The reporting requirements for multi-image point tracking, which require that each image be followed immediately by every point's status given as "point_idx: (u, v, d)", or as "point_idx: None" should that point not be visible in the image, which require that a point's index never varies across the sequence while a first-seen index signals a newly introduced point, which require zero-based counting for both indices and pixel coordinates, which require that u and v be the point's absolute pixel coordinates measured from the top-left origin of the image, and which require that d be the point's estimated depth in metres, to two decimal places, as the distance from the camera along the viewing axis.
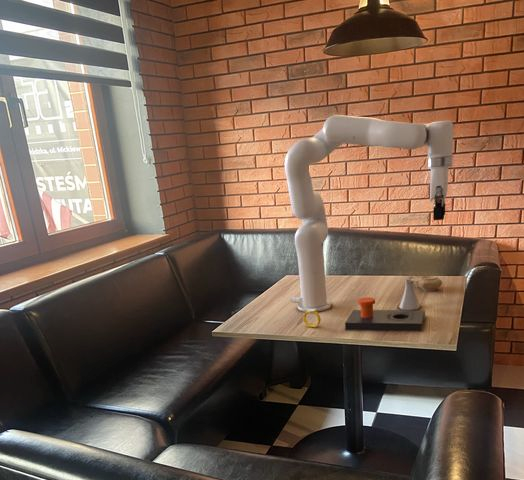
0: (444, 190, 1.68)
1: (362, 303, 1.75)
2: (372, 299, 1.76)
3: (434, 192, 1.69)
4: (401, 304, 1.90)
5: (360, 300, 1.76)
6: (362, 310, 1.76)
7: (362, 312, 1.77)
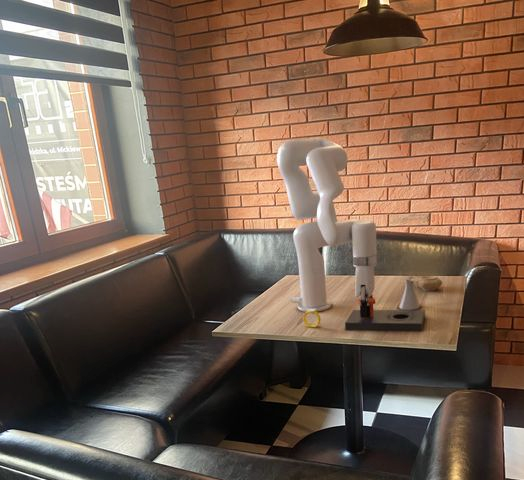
0: (368, 289, 1.70)
1: None
2: (372, 299, 1.76)
3: (359, 290, 1.71)
4: (401, 304, 1.90)
5: None
6: None
7: None
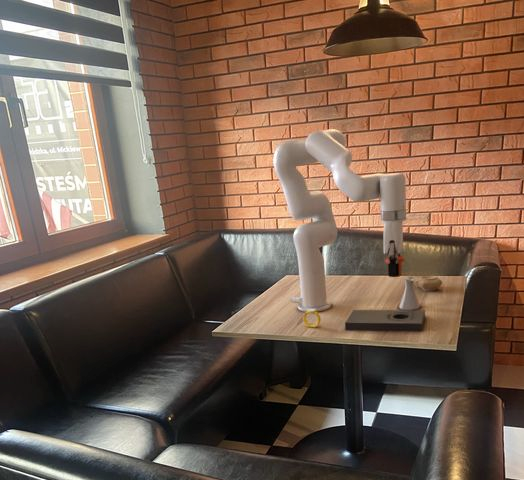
0: (397, 245, 1.62)
1: None
2: (401, 257, 1.68)
3: (387, 246, 1.63)
4: (401, 304, 1.90)
5: None
6: None
7: None
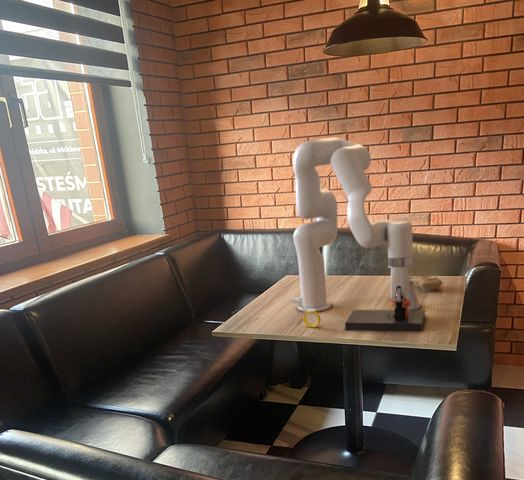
0: (404, 290, 1.66)
1: None
2: (407, 301, 1.72)
3: (394, 292, 1.67)
4: None
5: (394, 302, 1.73)
6: None
7: None
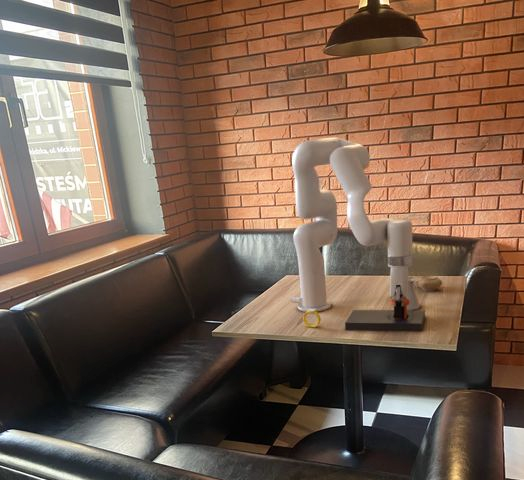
0: (403, 289, 1.66)
1: None
2: (406, 300, 1.72)
3: (393, 290, 1.67)
4: None
5: None
6: None
7: None
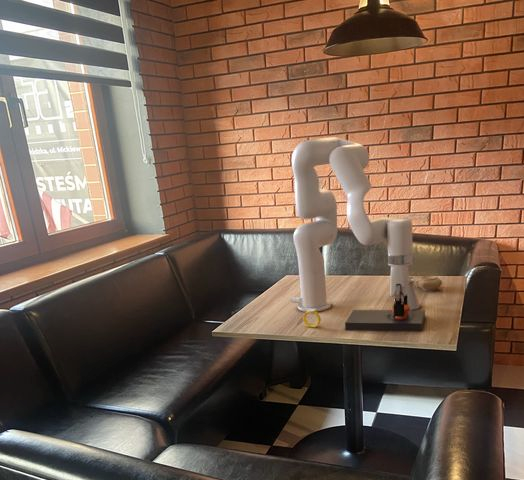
0: (404, 288, 1.66)
1: None
2: (407, 306, 1.73)
3: (394, 289, 1.67)
4: None
5: None
6: (396, 317, 1.74)
7: None
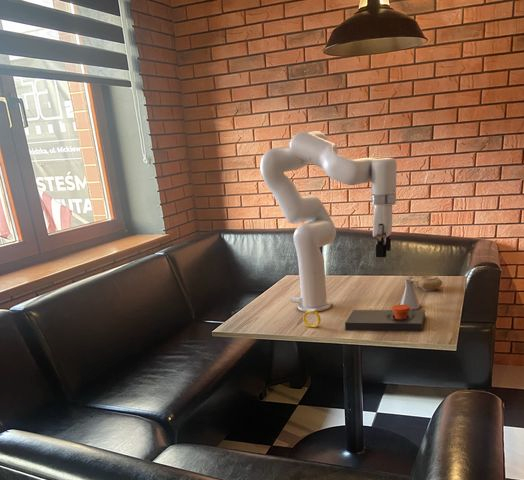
0: (386, 228, 1.66)
1: (396, 310, 1.72)
2: (407, 306, 1.73)
3: (376, 229, 1.67)
4: (401, 304, 1.90)
5: (394, 307, 1.73)
6: (396, 317, 1.74)
7: None
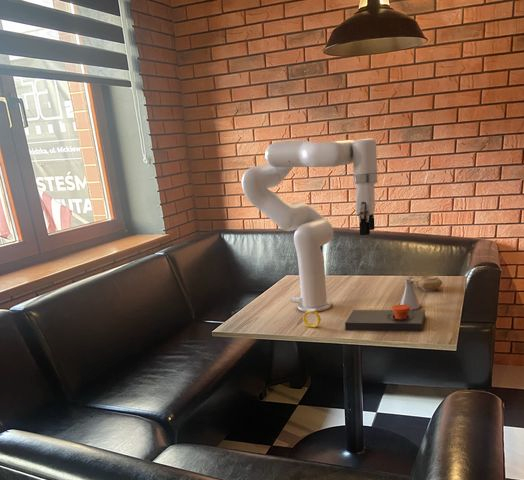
0: (369, 206, 1.72)
1: (396, 310, 1.72)
2: (407, 306, 1.73)
3: (359, 208, 1.73)
4: (401, 304, 1.90)
5: (394, 307, 1.73)
6: (396, 317, 1.74)
7: None
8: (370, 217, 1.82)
